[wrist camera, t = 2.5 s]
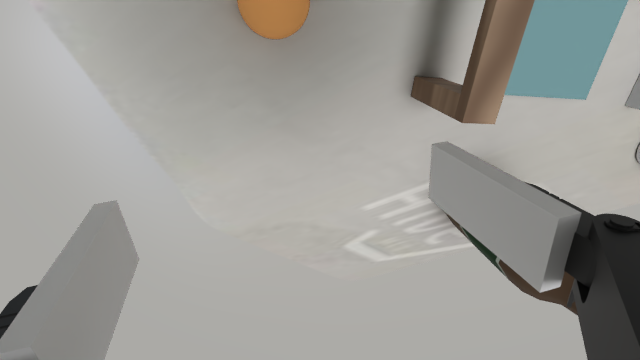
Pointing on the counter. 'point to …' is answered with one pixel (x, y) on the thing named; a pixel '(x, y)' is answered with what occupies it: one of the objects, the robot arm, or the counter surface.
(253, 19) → the ball
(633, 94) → the wall
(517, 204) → the robot arm
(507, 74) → the bridge
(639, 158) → the supplement bottle
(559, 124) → the counter surface
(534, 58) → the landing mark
